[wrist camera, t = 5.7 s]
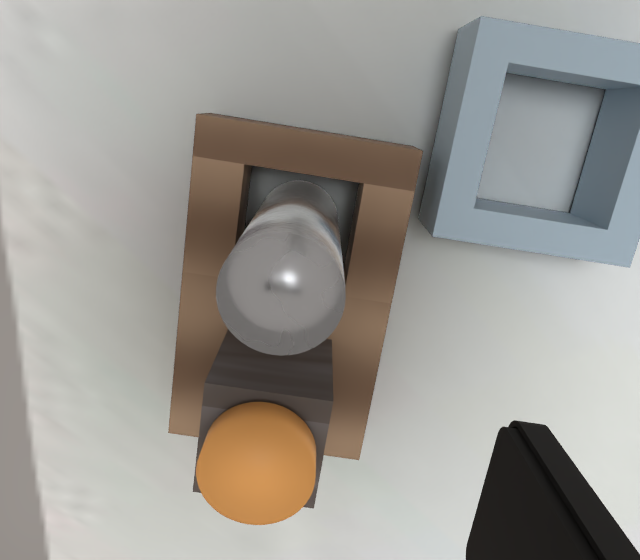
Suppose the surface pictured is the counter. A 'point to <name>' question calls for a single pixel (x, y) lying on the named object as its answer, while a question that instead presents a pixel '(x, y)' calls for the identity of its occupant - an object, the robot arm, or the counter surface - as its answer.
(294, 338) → the grey smooth thick cylinder
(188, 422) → the socket block
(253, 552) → the counter surface
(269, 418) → the release button
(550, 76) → the blue-grey square frame
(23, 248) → the counter surface
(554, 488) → the robot arm
